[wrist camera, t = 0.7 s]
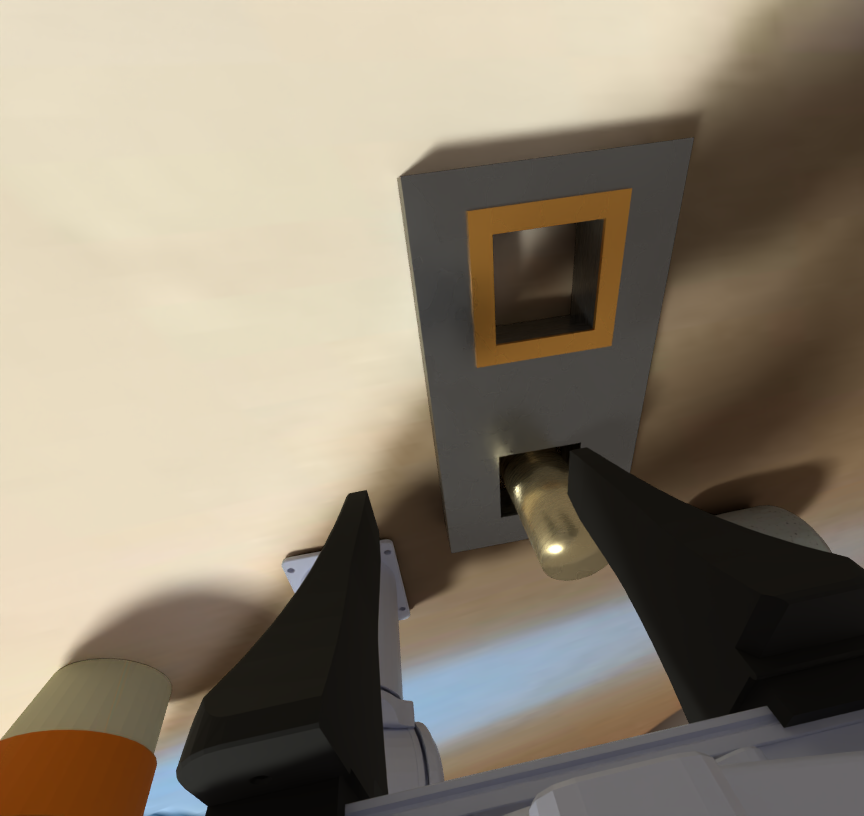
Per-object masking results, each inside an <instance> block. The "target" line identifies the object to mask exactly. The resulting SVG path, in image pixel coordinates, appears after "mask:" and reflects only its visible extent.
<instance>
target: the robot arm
mask: <svg viewBox="0 0 864 816" xmlns="http://www.w3.org/2000/svg"><path fill="white" fill-rule="evenodd" d="M567 494H568V496H569V499H570V501H571V503H572V505H573V507H574V509H575V511H576V513H577V515H578V517H579V519H580V521H581V522H582V524H583V525H584V527H585V528H586V530H587V532H588V533H589V535H590V536H591V538H592V539H593V541H594V542H595V544H596V545H597V547H598V548H599V550H600V551H601V553H602V554H603V556H604V557H605V559H606V560H607V562H608V563H609V565H610V566H611V568H612V569H613V571H614V572H615V574H616V576H617V577H618V579H619V581H620V582H621V584H622V585H623V587H624V589H625V591H626V593H627V595H628V597H629V598H630V600H631V602H632V604H633V606H634V608H635V610H636V612H637V614H638V615H639V617H640V619H641V621H642V623H643V625H644V627H645V629H646V631H647V633H648V635H649V637H650V639H651V641H652V643H653V645H654V647H655V650H656V652H657V654H658V656H659V658H660V660H661V662H662V664H663V667H664V669H665V671H666V673H667V675H668V677H669V679H670V681H671V684H672V686H673V688H674V691H675V693H676V695H677V697H678V700H679V702H680V704H681V706H682V709H683V711H684V713H685V715H686V718H687V720H688V722H689V724H687V725H683V726H678V727H674V728H670V729H665V730H661V731H657V732H652V733H648V734H644V735H640V736H635V737H631V738H627V739H623V740H618V741H614V742H610V743H606V744H601V745H597V746H593V747H588V748H584V749H580V750H576V751H571V752H567V753H563V754H559V755H554V756H550V757H546V758H541V759H537V760H533V761H529V762H524V763H520V764H516V765H512V766H507V767H503V768H499V769H495V770H490V771H486V772H482V773H477V774H473V775H469V776H465V777H460V778H456V779H452V780H448V781H444V774H443V768H442V763H441V758H440V755H439V751H438V748H437V746H436V744H435V742H434V740H433V738H432V736H431V734H430V732H429V730H428V729H427V727H426V726H425V725H424V724H423V723H420V722H415V721H414V708H413V702H412V701H405V700H403V694H402V673H401V656H400V638H399V620H403V619H407V618H409V616H410V610H409V605H408V601H407V597H406V593H405V589H404V585H403V581H402V577H401V573H400V569H399V565H398V561H397V557H396V553H395V549H394V545H393V542H392V541H391V540H389V539H384V540H380V539H379V530H378V527H377V523H376V520H375V517H374V513H373V510H372V506H371V503H370V500H369V496H368V493H367V490H364V491H359V492H354V493H349V494H348V496H347V497H346V499H345V502H344V504H343V507H342V509H341V512H340V514H339V516H338V518H337V521H336V523H335V525H334V527H333V529H332V531H331V533H330V535H329V537H328V539H327V541H326V543H325V545H324V547H323V549H322V550H321V551H320V552H314V553H309V554H303V555H298V556H293V557H288V558H285V559H284V560H283V562H282V568H283V570H284V572H285V574H286V576H287V578H288V580H289V582H290V584H291V586H292V588H293V591H294V593H295V594H294V596H293V597H292V598H291V600H290V601H289V602H288V604H287V605H286V606H285V608H284V609H283V610H282V612H281V613H280V615H279V616H278V617H277V618H276V620H275V621H274V622H273V624H272V625H271V626H270V627H269V628H268V630H267V631H266V632H265V633H264V634H263V635H262V637H261V638H260V639H259V640H258V641H257V642H256V644H255V645H254V646H253V647H252V648H251V649H250V650H249V652H248V653H247V654H246V655H245V656H244V657H243V658H242V659H241V661H240V662H239V663H238V664H237V665H236V666H235V667H234V668H233V669H232V670H231V671H230V672H229V673H228V674H227V675H226V676H225V677H224V678H223V679H222V680H221V681H220V682H219V683H218V684H217V685H216V686H215V687H214V688H213V689H212V690H211V691H210V692H209V693H208V694H207V695H206V696H205V697H204V698H203V700H202V702H201V705H200V707H199V709H198V711H197V714H196V716H195V718H194V721H193V723H192V726H191V729H190V731H189V734H188V737H187V740H186V743H185V746H184V749H183V752H182V755H181V758H180V761H179V764H178V767H177V770H176V775H177V779H178V781H179V783H180V784H181V785H182V786H183V787H184V788H185V789H186V790H187V791H189V792H190V793H191V794H193V795H194V796H195V797H196V798H198V799H199V800H200V801H202V802H203V803H204V804H206V805H207V806H208V807H207V811H206V815H205V816H864V569H863V568H862V567H860V566H859V565H858V564H857V563H855V562H854V561H853V560H851V559H850V558H848V557H845V556H841V555H837V554H833V553H829V552H826V551H822V550H818V549H814V548H810V547H806V546H803V545H799V544H795V543H792V542H789V541H785V540H782V539H779V538H776V537H773V536H769V535H766V534H763V533H760V532H757V531H754V530H751V529H748V528H746V527H743V526H740V525H738V524H735V523H732V522H730V521H727V520H724V519H722V518H719V517H717V516H714V515H712V514H709V513H707V512H705V511H702V510H700V509H698V508H696V507H694V506H691V505H689V504H687V503H685V502H683V501H680V500H678V499H676V498H674V497H672V496H670V495H668V494H667V493H665V492H663V491H661V490H659V489H657V488H655V487H653V486H651V485H650V484H648V483H646V482H644V481H642V480H641V479H639V478H637V477H635V476H634V475H632V474H630V473H629V472H627V471H625V470H624V469H622V468H620V467H619V466H617V465H615V464H614V463H612V462H611V461H609V460H607V459H606V458H604V457H602V456H601V455H599V454H597V453H596V452H594V451H592V450H591V449H589V448H587V447H585V448H580V449H575V450H570V458H569V475H568V492H567ZM386 550H387V551H386Z"/></svg>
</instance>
